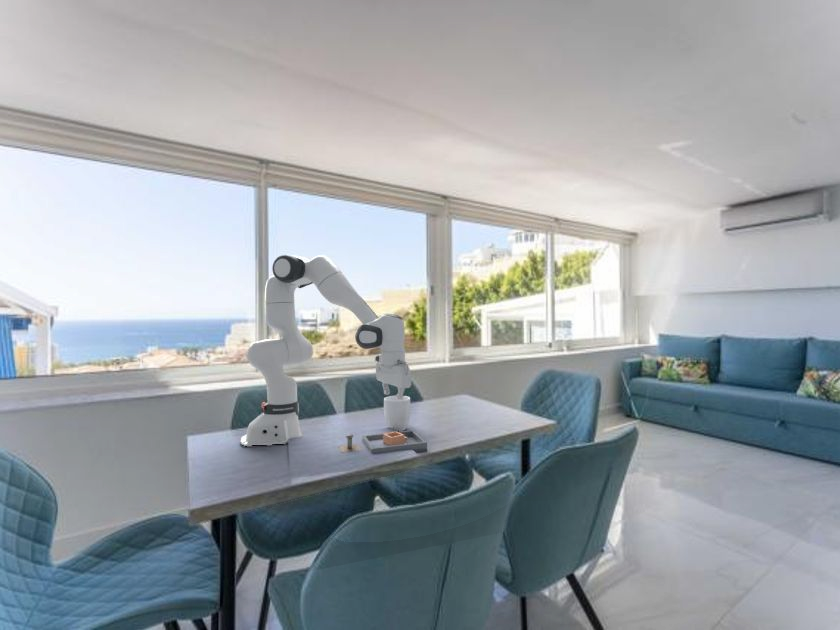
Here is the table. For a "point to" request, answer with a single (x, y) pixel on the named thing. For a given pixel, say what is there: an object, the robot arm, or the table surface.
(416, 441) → the tray
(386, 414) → the mug
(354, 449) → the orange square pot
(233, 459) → the table surface
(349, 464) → the table surface
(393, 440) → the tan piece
